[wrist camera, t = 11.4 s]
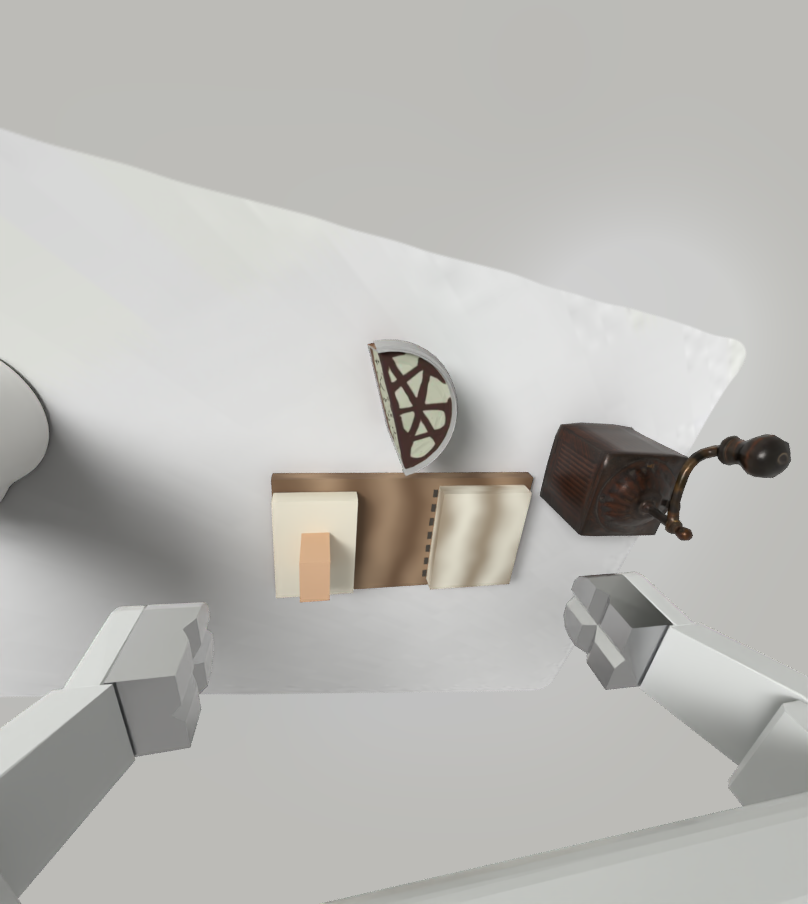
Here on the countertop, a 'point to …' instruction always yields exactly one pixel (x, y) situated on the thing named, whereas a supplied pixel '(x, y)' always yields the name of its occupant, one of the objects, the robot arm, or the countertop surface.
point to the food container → (414, 401)
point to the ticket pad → (429, 524)
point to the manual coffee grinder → (637, 477)
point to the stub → (314, 544)
